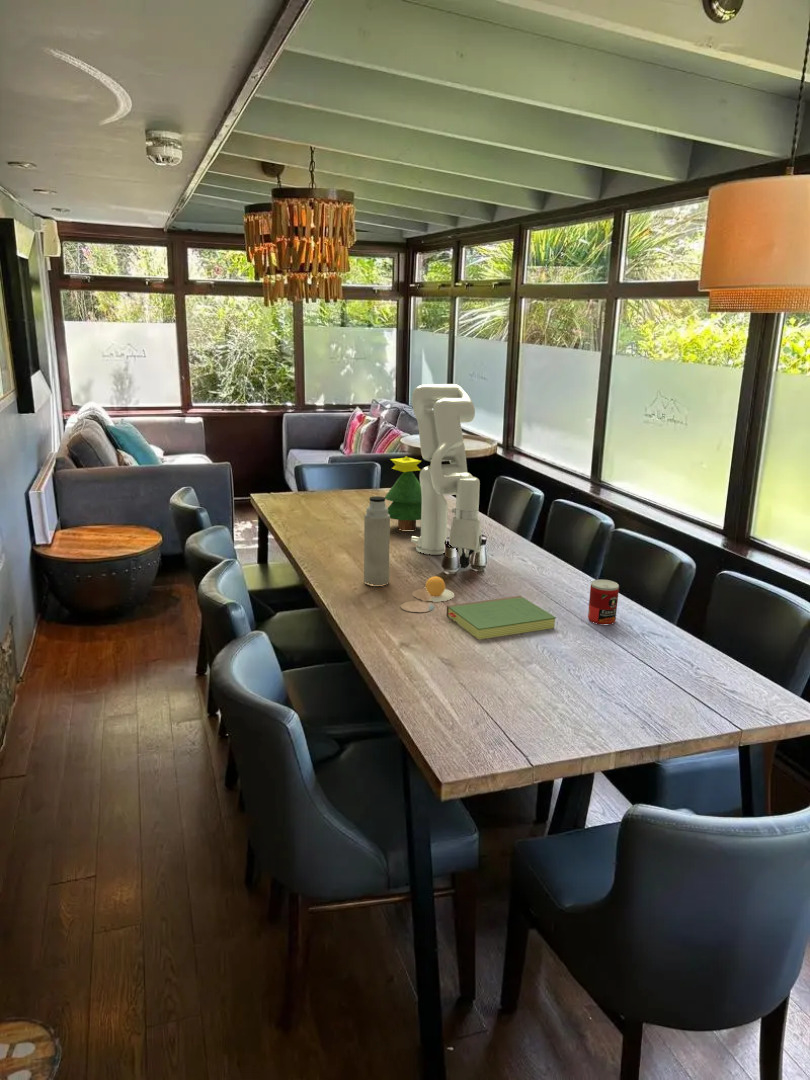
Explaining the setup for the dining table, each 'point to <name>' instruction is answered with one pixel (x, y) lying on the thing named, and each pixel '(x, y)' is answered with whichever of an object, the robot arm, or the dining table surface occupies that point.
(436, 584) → the ball
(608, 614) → the canned food
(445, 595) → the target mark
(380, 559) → the thermos bottle
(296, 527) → the dining table surface
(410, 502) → the decorative tree
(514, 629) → the hardcover book
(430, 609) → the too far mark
